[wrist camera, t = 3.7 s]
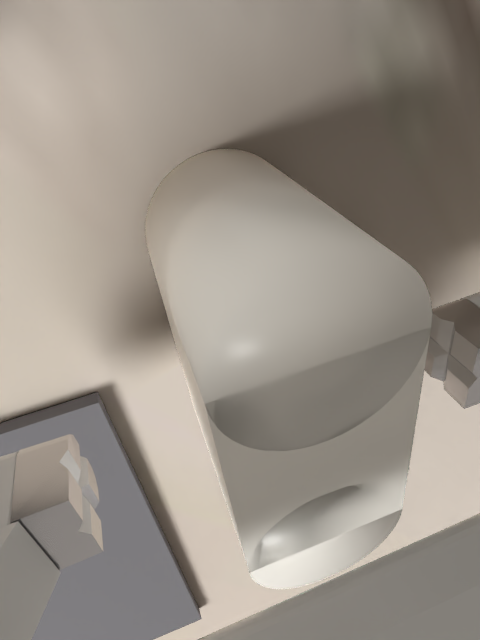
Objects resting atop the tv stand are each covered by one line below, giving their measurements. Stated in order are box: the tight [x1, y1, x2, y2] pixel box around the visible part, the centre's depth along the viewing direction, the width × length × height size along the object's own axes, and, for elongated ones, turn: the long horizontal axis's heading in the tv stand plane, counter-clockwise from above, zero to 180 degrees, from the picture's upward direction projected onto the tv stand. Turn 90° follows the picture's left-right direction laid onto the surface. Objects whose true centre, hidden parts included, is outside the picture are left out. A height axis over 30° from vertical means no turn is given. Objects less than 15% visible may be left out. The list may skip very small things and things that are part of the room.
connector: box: [145, 149, 432, 589], centre depth 10 cm, size 4×10×5 cm, turn 8°
